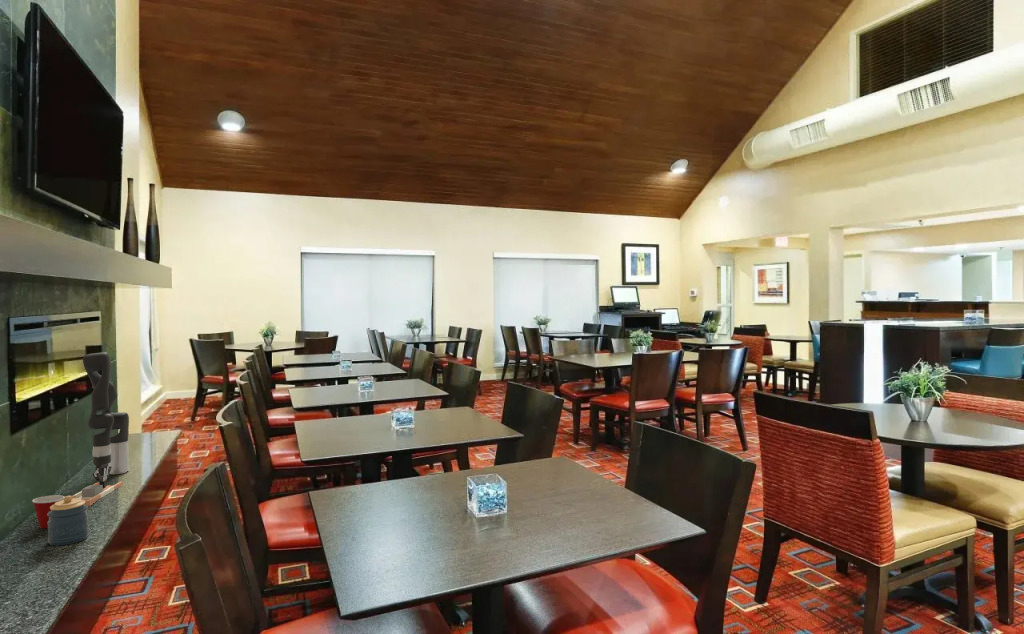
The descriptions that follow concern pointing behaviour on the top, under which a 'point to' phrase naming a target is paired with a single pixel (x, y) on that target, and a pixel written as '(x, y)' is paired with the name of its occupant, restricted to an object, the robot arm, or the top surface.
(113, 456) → the robot arm
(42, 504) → the plastic cup
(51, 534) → the canister
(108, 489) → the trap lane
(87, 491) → the slate block
